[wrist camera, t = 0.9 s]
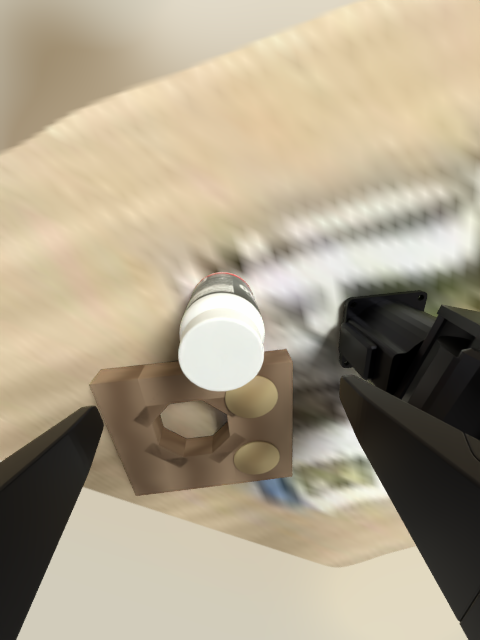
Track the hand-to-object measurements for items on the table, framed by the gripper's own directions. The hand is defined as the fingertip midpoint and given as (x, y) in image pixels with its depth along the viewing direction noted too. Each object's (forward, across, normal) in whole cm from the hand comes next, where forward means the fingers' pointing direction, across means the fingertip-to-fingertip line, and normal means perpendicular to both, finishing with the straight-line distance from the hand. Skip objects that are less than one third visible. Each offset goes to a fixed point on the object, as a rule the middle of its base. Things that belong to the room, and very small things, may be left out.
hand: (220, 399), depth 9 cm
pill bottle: (+11, 0, 0) cm, 11 cm away
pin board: (+11, +3, +12) cm, 16 cm away
